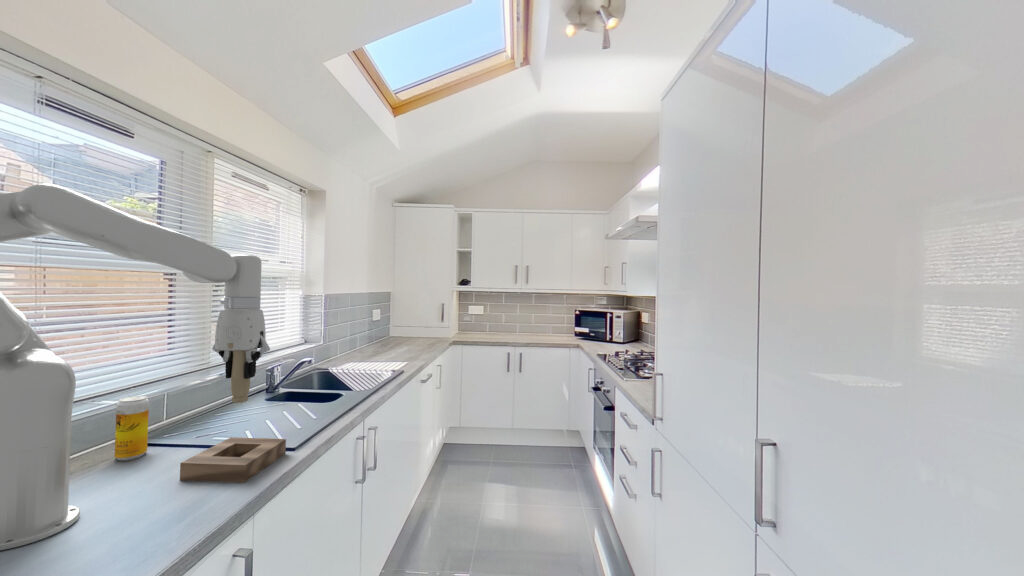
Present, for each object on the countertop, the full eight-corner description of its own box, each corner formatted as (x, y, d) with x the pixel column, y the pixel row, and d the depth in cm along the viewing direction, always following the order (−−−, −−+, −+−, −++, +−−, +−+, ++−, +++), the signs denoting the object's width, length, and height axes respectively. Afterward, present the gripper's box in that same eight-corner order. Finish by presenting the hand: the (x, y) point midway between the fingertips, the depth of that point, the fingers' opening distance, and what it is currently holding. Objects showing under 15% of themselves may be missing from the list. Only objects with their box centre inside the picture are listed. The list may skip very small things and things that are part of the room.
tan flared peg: (257, 401, 100) (259, 341, 100) (227, 406, 95) (228, 343, 95) (251, 397, 103) (253, 339, 103) (222, 402, 98) (223, 341, 98)
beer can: (108, 459, 100) (110, 400, 100) (136, 450, 106) (138, 394, 106) (125, 462, 99) (128, 402, 99) (153, 453, 105) (155, 396, 105)
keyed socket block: (244, 482, 90) (245, 465, 90) (179, 480, 90) (180, 462, 90) (285, 453, 106) (286, 439, 106) (230, 452, 106) (230, 437, 106)
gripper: (197, 303, 95) (195, 379, 95) (266, 305, 95) (264, 381, 95) (220, 302, 103) (218, 373, 103) (284, 304, 102) (282, 375, 102)
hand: (240, 376), depth 99 cm, fingers closed on tan flared peg, 3 cm apart
